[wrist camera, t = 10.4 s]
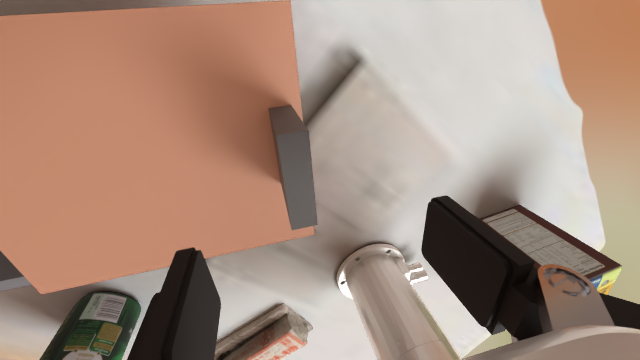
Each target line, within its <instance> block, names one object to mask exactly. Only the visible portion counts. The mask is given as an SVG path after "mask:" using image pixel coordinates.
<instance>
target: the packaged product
mask: <svg viewBox="0 0 640 360" xmlns="http://www.w3.org/2000/svg"><path fill="white" fill-rule="evenodd" d="M312 329H313V327H312V326H311V325H310V324H309V323H308V322H307V321H305V320H304V319H303V318H302V317H300V316H299V315H298V314H296V313H295V312H294V311H293V310H291V309H290V308H289V307H287V306H286V305H285V304H281V305H279V306H278V307H276V308H275V309H273V310H272V311H270V312H268V313H267V314H265V315H263V316H262V317H260V318H258V319H256V320H255V321H253V322H252V323H250V324H248V325H247V326H245V327H243V328H242V329H240V330H238V331H237V332H235V333H234V334H232V335H230V336H229V337H227V338H226V339H224V340H222V341H221V342H219V343H218V344H216V349H215V357H214V360H281V359H283V358H285V357H286V356H288V355H290V354H291V353H293V352H295V351H296V350H298V349H300V348H302V347H303V346H305V345H306V344H307V336H308V332H309V331H310V330H312Z"/></svg>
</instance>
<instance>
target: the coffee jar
mask: <svg viewBox="0 0 640 360" xmlns="http://www.w3.org/2000/svg"><path fill="white" fill-rule="evenodd" d="M140 312H141V307H140V304H139V303H138V302H137V301H135V300H134V299H132V298H130V297H128V296H126V295H123V294H119V293H114V292H96V293H91V294H88V295H86V296H84V297H83V298H82V299H81V300H80V301H78V303H77V304H76V305H75V306H74V307H73V309H72V310H71V312H70V313H69V315H68V316H67V318H66V319H65V321H64V322H63V324H62V325H61V327H60V328H59V330H58V331H57V333H56V335H55V336H54V338H53V339H52V341H51V343H50V344H49V346H48V347H47V349H46V350H45V352H44V353H43V355H42V357H41V358H40V360H122V357H123V355H124V352H125V350H126V347H127V345H128V342H129V340H130V337H131V335H132V332H133V330H134V327H135V325H136V323H137V320H138V318H139V315H140Z"/></svg>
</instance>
